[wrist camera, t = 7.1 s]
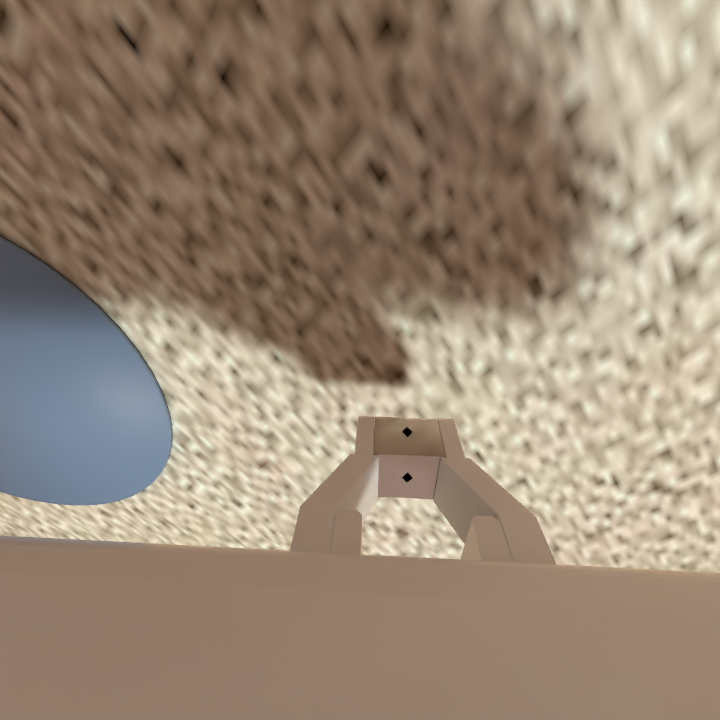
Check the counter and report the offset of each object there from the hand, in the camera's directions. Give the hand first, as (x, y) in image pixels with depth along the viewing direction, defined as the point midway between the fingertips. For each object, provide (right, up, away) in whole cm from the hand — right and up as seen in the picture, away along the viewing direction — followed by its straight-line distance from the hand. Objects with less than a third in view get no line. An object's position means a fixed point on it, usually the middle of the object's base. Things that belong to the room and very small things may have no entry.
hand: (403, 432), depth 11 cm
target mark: (-16, +1, +2) cm, 16 cm away
